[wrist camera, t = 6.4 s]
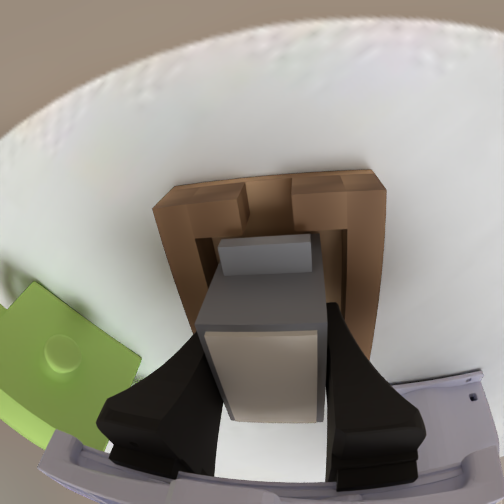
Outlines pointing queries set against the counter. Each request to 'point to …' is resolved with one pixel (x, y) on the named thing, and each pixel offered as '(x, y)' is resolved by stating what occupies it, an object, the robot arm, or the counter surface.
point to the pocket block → (283, 233)
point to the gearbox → (57, 369)
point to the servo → (268, 328)
